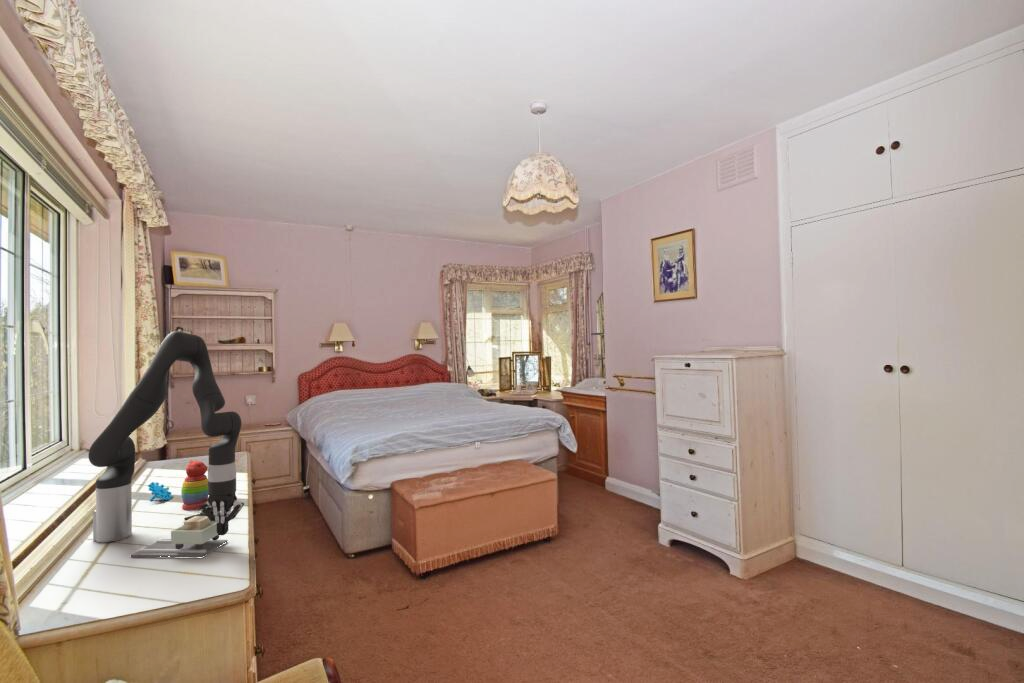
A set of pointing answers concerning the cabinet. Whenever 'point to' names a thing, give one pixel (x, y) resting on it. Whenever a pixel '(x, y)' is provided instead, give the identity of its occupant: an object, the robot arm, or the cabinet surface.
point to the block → (197, 523)
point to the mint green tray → (193, 536)
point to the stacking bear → (195, 486)
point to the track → (168, 549)
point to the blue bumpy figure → (159, 491)
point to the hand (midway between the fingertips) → (222, 534)
